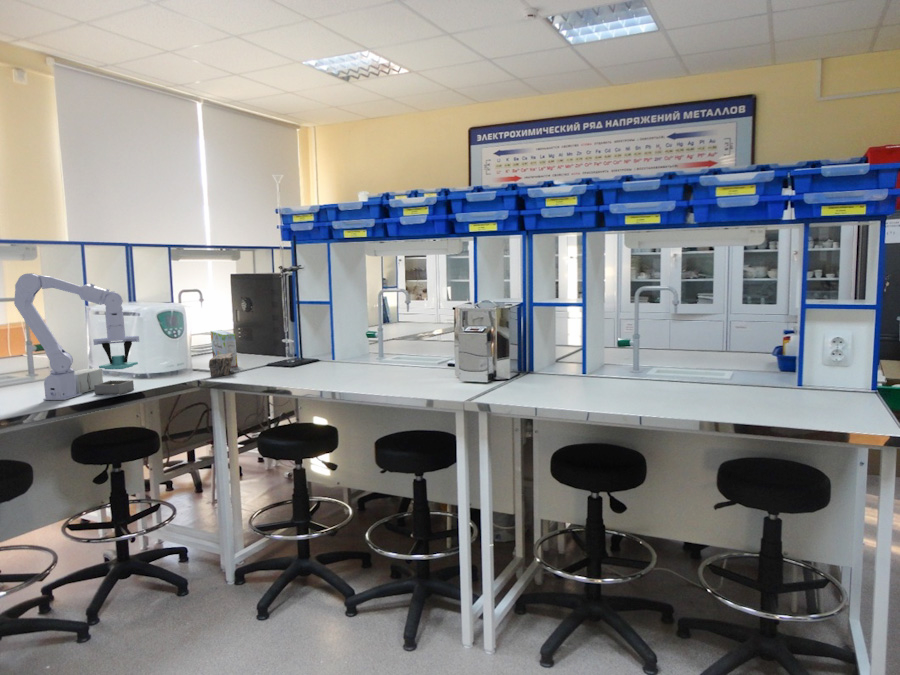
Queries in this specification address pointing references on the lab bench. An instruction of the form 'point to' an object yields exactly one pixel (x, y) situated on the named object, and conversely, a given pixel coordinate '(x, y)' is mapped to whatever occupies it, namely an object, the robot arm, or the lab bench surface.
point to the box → (114, 387)
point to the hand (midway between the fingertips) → (118, 363)
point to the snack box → (224, 344)
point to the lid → (118, 363)
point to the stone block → (220, 364)
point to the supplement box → (87, 379)
